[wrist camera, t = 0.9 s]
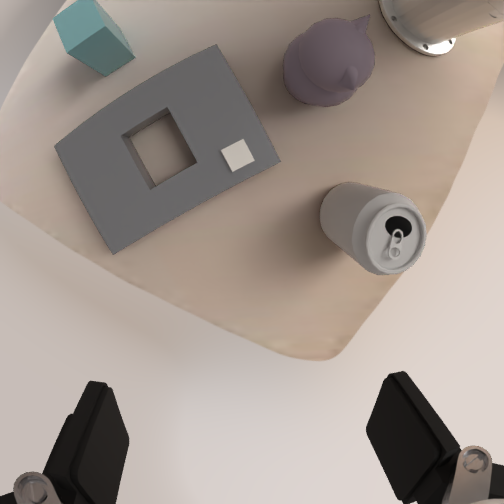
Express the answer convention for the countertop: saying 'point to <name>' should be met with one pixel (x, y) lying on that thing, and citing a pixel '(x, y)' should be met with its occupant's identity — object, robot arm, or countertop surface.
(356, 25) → the cat figurine
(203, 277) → the countertop surface
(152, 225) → the socket
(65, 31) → the plug
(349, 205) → the can
